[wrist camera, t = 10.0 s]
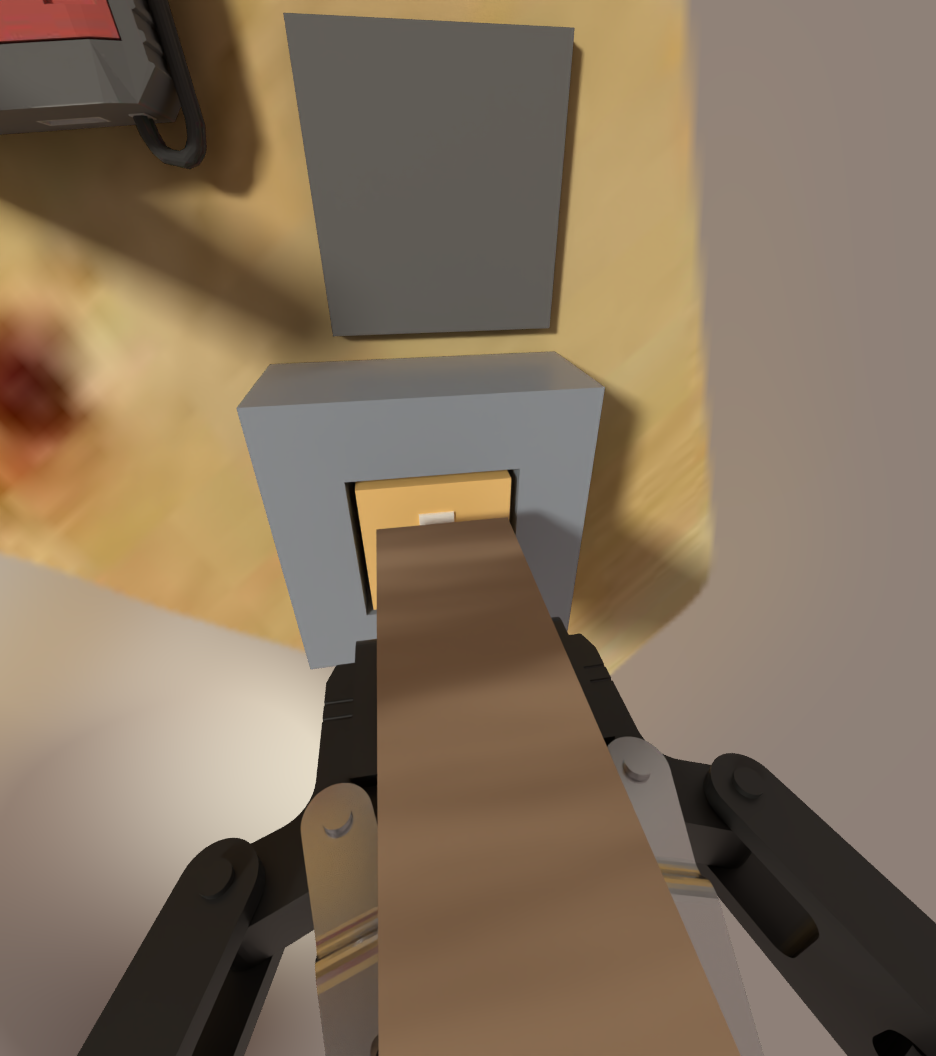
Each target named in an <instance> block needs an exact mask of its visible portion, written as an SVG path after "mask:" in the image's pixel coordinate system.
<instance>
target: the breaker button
mask: <svg viewBox="0 0 936 1056" xmlns="http://www.w3.org/2000/svg"><path fill="white" fill-rule="evenodd" d="M355 494H356V500H357V507H358V513H359V520H360V526H361V532H362V539H363V545H364V551H365V558H366V564H367V571H368V577H369V583H370V590H371V596H372V603H373V609H374V610H377V572H376V529H386V528H397V527H407V526H418V525H429V524H439V523H450V522H461V521H471V520H482V519H493V518H503V517H508V519H509V514H510V494H511V477H510V475H509V473H508V471H507V470H496V471H483V472H471V473H458V474H445V475H433V476H420V477H407V478H395V479H382V480H369V481H357V482H356V484H355Z"/></svg>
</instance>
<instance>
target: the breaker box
mask: <svg viewBox="0 0 936 1056" xmlns="http://www.w3.org/2000/svg"><path fill="white" fill-rule="evenodd" d="M604 390H605V387H604V386H602V385H601V384H600V383H598V382H597V381H595V380H594V379H593V378H591V377H590V376H588V375H587V374H586V373H584V372H583V371H581V370H580V369H579V368H577V367H576V366H574V365H573V364H572V363H570V362H569V361H567V360H566V359H564V358H563V357H562V356H560V355H559V354H557V353H556V352H555V351H554V352H532V353H510V354H487V355H465V356H443V357H421V358H398V359H376V360H354V361H332V362H309V363H287V364H270V365H269V366H268V367H267V369H266V370H265V371H264V373H263V374H262V375H261V377H260V378H259V379H258V380H257V382H256V383H255V384H254V386H253V387H252V388H251V390H250V391H249V392H248V394H247V395H246V396H245V397H244V399H243V400H242V401H241V403H240V404H239V405H238V407H237V412H238V415H239V419H240V422H241V426H242V429H243V433H244V436H245V440H246V443H247V447H248V451H249V454H250V458H251V461H252V465H253V468H254V472H255V475H256V479H257V482H258V486H259V489H260V493H261V496H262V500H263V504H264V507H265V511H266V514H267V518H268V521H269V525H270V528H271V532H272V535H273V539H274V542H275V546H276V549H277V553H278V557H279V560H280V564H281V567H282V571H283V574H284V578H285V581H286V585H287V588H288V592H289V595H290V599H291V602H292V606H293V609H294V613H295V617H296V620H297V624H298V627H299V631H300V634H301V638H302V641H303V645H304V648H305V652H306V655H307V659H308V662H309V666H310V669H317V668H325V667H333V666H336V665H340V664H348V663H355V646H356V641H363V640H371V639H377V610H374V609H373V603H372V596H371V590H370V583H369V577H368V571H367V564H366V558H365V551H364V545H363V539H362V532H361V526H360V520H359V513H358V507H357V500H356V494H355V484H356V482H357V481H369V480H382V479H395V478H407V477H420V476H433V475H445V474H458V473H471V472H483V471H496V470H507V471H508V473H509V475H510V477H511V494H510V514H509V522H510V524H511V526H512V529H513V531H514V533H515V536H516V538H517V540H518V542H519V545H520V547H521V549H522V552H523V554H524V556H525V559H526V561H527V563H528V566H529V568H530V570H531V572H532V575H533V577H534V579H535V582H536V584H537V586H538V589H539V591H540V593H541V596H542V598H543V600H544V602H545V605H546V607H547V609H548V612H549V614H550V616H551V617H560V618H561V620H562V622H563V624H564V626H565V628H566V630H568V624H569V617H570V611H571V604H572V598H573V591H574V585H575V578H576V572H577V565H578V559H579V552H580V546H581V539H582V533H583V526H584V520H585V513H586V507H587V500H588V494H589V487H590V481H591V474H592V468H593V461H594V455H595V448H596V442H597V435H598V429H599V422H600V416H601V409H602V403H603V396H604Z"/></svg>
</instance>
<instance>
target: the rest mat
mask: <svg viewBox="0 0 936 1056" xmlns="http://www.w3.org/2000/svg"><path fill="white" fill-rule="evenodd" d="M283 14H284V20H285V27H286V33H287V40H288V46H289V53H290V59H291V66H292V72H293V79H294V85H295V92H296V98H297V105H298V111H299V118H300V124H301V131H302V137H303V144H304V150H305V157H306V163H307V170H308V176H309V183H310V189H311V196H312V202H313V209H314V215H315V222H316V228H317V235H318V241H319V248H320V254H321V260H322V267H323V273H324V280H325V286H326V293H327V299H328V306H329V312H330V319H331V325H332V332H333V336H353V335H380V334H406V333H432V332H459V331H485V330H511V329H538V328H549V327H550V315H551V303H552V291H553V279H554V267H555V255H556V243H557V231H558V219H559V208H560V196H561V184H562V172H563V160H564V148H565V136H566V124H567V112H568V100H569V88H570V76H571V64H572V52H573V40H574V28H569V27H550V26H530V25H511V24H491V23H472V22H452V21H433V20H413V19H394V18H374V17H355V16H336V15H316V14H297V13H283Z"/></svg>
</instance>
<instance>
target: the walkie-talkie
mask: <svg viewBox="0 0 936 1056" xmlns="http://www.w3.org/2000/svg"><path fill="white" fill-rule="evenodd" d="M180 107H181V108H182V111H183V114H184V117H185V122H186V129H187V142H186V146H185V148H184V149H183V150H181V151H177V150H173V149H170V148H169V147H168V146H166V144H165V142H164V141H163V139H162V137H161V136H160V134H159V132H158V129H157V127H156V125H155V123H167V122H175V120H176V118H177V115H178V113H179V110H180ZM126 125H136V126H137V129H138V131H139V133H140V136H141V137H142V139H143V140H144V142H145V143H146V145H147V146H148V147H149V149H150V150H151V152H152V153H153V154H154V155H155V156H156V157H158V158H159V159H160V160H161V161H162V162H163V163H165V164H169V165H173V166H177V167H182V168H187V169H192V168H194V167H196V166H198V165H200V163H201V162H202V160H203V159H204V157H205V154H206V148H207V145H206V130H205V123H204V120H203V117H202V113H201V110H200V107H199V103H198V100H197V97H196V94H195V90H194V87H193V84H192V80H191V77H190V74H189V70H188V67H187V64H186V60H185V57H184V54H183V50H182V47H181V44H180V40H179V37H178V34H177V30H176V27H175V24H174V20H173V17H172V14H171V10H170V7H169V4H168V0H0V135H2V134H15V133H29V132H43V131H57V130H71V129H84V128H98V127H112V126H126Z"/></svg>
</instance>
